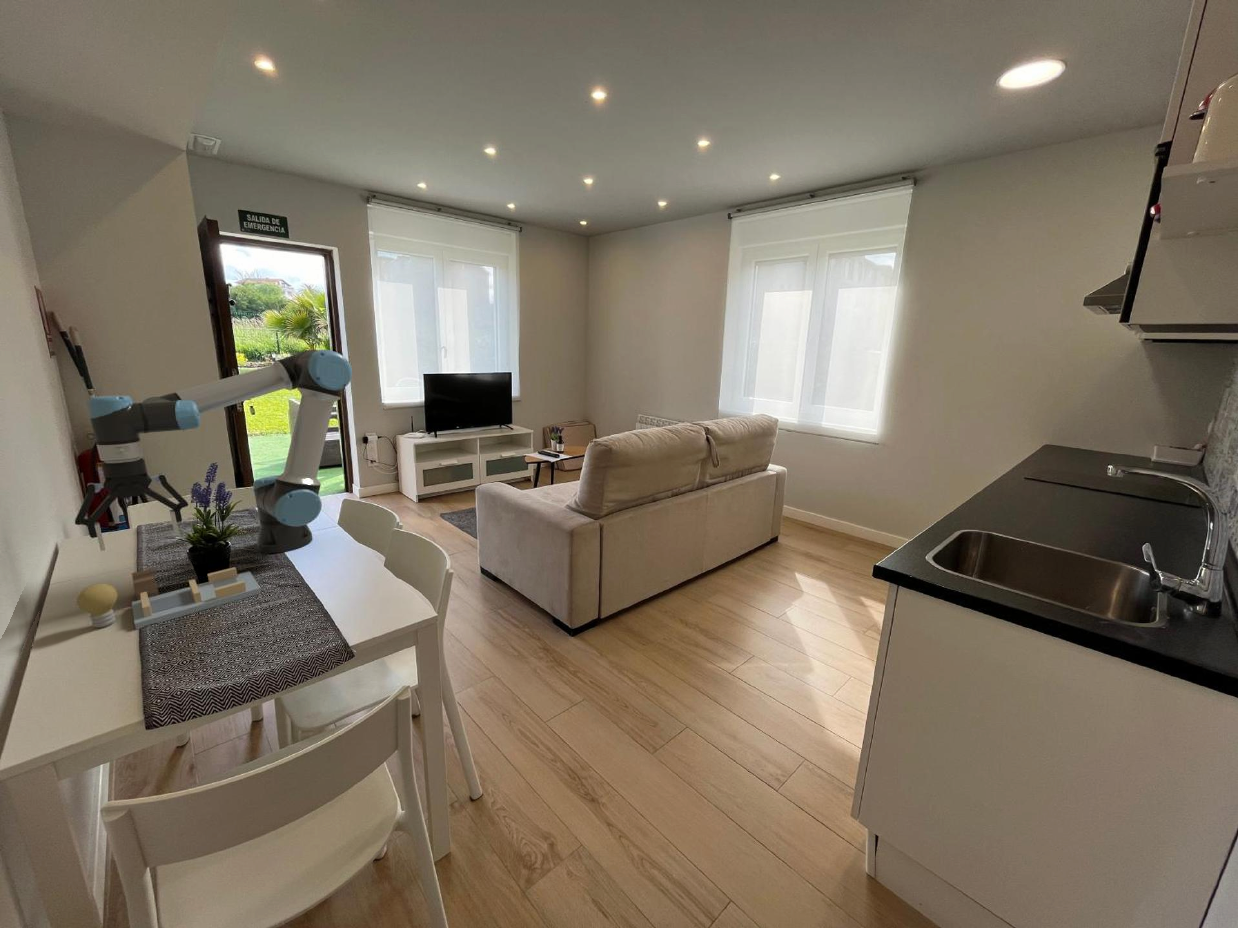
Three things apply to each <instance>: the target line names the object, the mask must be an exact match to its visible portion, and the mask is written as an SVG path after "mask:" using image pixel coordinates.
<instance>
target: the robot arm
mask: <svg viewBox="0 0 1238 928" xmlns="http://www.w3.org/2000/svg"><path fill="white" fill-rule="evenodd" d="M352 377H353V369H352V366H351V364H350V362H349V361H348V359H347V358H345V356H344V355H342V354H341V353H339V352H336V351H333V350H330V349H307V350H303V351H300V352H297V353H295V354H292V355H289V356H287V357H284V358H283V357H282V358H281V359H277V360H274V361H273V363H272V365H268V366H265V367H261V368H257V369H254V370H251V371H248V372H242V373H239V374H236V375H233V376H229V377H225V378H222V379H219V380H214V381H211V382H206V383H204V384H200V385H196V386H193V387H190V388H185V389H181V390H178V391H175V392H172V393H167V394H164V395H160V396H152V397H148V398H145V399H144V400H142V401H141V402H134V401H133V400H132V398H131V396H129V395H122V394H121V395H119V394H118V395H100V396H94V397H93V396H92V397H90V398H89V399H88V400H87V407H88V413H89V419H90V423H91V427H92V432H93V435H94V438H95V442H96V448H97V452H98V456H99V460H100V461H102V463H101V469H102V473H103V477H104V478H103V479H104V482H99V483H95V482H88V483H87V485H86V487H87V492H86V495H85V497H84V500H83V502H82V503H81V504H82V505H81V506H80V509H79V510H78V513H77V515H76V517H75V520H74V524H75V525H77V526H86V527H87V529H88V534H89V537H90V539H95V538H97V542H98V545H99V549H100V551H101V552H103V551H105V550H106V547H105V542H104V538H103V533H102V529H101V525H100V523H99V521H98V520H99V519H100V517H102V515H104V513H105V512H106V511H107V509H108V508H109V507H110V506H111V505H112V503H114V501H116V499H117V498H121V499H127V498H130V497H140V496H142V495H143V494H144V495H147V496H148V497H150V498H152V499H154V500H156V501H157V502H159V503H161V504H163V505H165V506H166V507H168V508H169V515H170V519H171V524H172V529H173V534H174V536H175V537H178V536H180V532H179V527H178V523H180V522H182V520H183V518H182V513H181V510H182V509H183V508H186V507H188V506H189V503H188V502H187V500H186V499H185V498H184V497H183V495H181V494H180V493H179V492H178V491H177V490H176V489H175V488H174V487H173V486H172V485H171V484H170V483H169V482H168V480H167V477H166V475H165V474H164V473H158V474H157V475H154V476H153V475H151V476H149V474H148V470H147V465H146V462H145V459H144V458H143V456H144V453H143V452H144V451H143V447H142V442H141V438H140V435H141V434H148V433H159V432H161V433H162V432H173V431H175V432H176V431H186V430H192V429H193V430H194V429H197V428H199V427H200V425H201V415H202V414H206V413H210V412H212V411H216V410H219V409H222V408H226V407H228V406H232V405H236V404H239V403H242V402H245V401H249V400H253V399H255V398H258V397H262V396H265V395H269V394H272V393H275V392H277V391H281V390H284V389H285V390H287V391H292V390H295V389H297V390H298V392H299V394H300V395H301V398H300V401H299V402H300V403H299V405H298V406H299V407H298V409H297V410H298V411H297V415H296V418H295V423H294V427H293V431H292V436H291V441H290V444H289V449H288V454H287V458H286V462H285V466H284V469H283V472H282V473H281V474H278V475H277V474H276V475H272V476H266V477H261V478H258V479H255V480H254V481H253V482H252V483H253V484H252V485H253V490H252V491H253V492H254V498H255V504H256V509H257V514H258V521H259V531H258V534H257V539H256V540H257V541H256V548H257V550H258V551H259V552H260V553H267V554H272V553H273V554H274V553H282V552H283V553H284V552H289V551H292V550H297V549H300V548H302V547H305V546H306V545H309V544H310V543H311V542H312V541H313V533H312V531H311V529H310V527H309V526H308V524H310V523H311V522H313V521H314V520H315V519H317V517H319V515H320V514H321V512H322V511H321V510H322V504H323V503H322V499H321V498H320V496H319V493H320V489H321V484H322V482H320V481H319V479H318V478H317V477H318V472H319V469H320V464H321V460H322V455H323V451H324V448H325V442H326V438H327V435H328V429H329V425H330V420H331V416H332V411H333V409H334V404H335V403H336V402H337V401H339V400H341V398H342V394H343V390H344V389H345V388H346V387H347V386H348V385H349V384H350V383H351V380H352ZM152 482H155V483H156V484H158V485H160V484H161V486H162V487H163V488H164V489H165V490H166V491H167V492H168V493H169V494H170V495H171V496H172V497H173V498H174V499H175V500H176V501H177V502H178V503H176V502H173V501H172V500H170V498H169V499H168V498H167V497H165V496H163V495H162V494H160V493H158V492H157V491H155V490H153V489H151V488H150V487H149V486H150V485H151V483H152ZM102 489H105V490H106V491H108V492H109V493H108V495H106V497H105V499H103V500H102V502H101V503H100V504H99V506H97V508H96V509H95V510H94V511H93V513H91V515H90V516H88V518H85V517H86V516H87V514H88V513H89V512H88V511H89V509H90V507H91V505H92V503H93V501H94V499H95V496H96V494H97V493H100V492H101V490H102Z"/></svg>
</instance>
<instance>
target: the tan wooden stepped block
mask: <svg viewBox="0 0 1238 928" xmlns="http://www.w3.org/2000/svg"><path fill="white" fill-rule="evenodd" d="M131 577H132V583H133V587H134V592H135V596H136V601H138V600H141V596H140V593H143V592H147V595H148V598H149V597H153V596H157V595H160V594H159V588H158V585H157V580H156V577H155V573H154V570H153V568H148V569H144V570H141V571H135V572H132V573H131Z"/></svg>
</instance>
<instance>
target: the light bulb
mask: <svg viewBox="0 0 1238 928" xmlns="http://www.w3.org/2000/svg"><path fill="white" fill-rule="evenodd" d="M117 599H118V592H117V590H116V588H115V587H114V586H112V585H110V584H107V583H97V584H94V585H93V584H92V585H90V586H88V587H85V588H84V589H83V590H82V591H80V592H79V594H78V596H77V598H76V604H77V606H78V608H80V610H82V612H83V611H84V612H85V613H87V614H90V616H89V617H90V618H89V619H90V621H91V623H92V627H93V628H97V629H99V628H100V629H101V628H105V627H108V626H111V625H113V624H114V622H116V616H115V613H114V610H113V606H114V605H115V604H116V601H117Z"/></svg>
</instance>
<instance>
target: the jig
mask: <svg viewBox="0 0 1238 928" xmlns="http://www.w3.org/2000/svg"><path fill="white" fill-rule="evenodd" d="M207 578H208V581H207V582H204V583H199V584H197V582H196V580H195V579H190V580H188V583H189V587H184V588H181V589H177V590H173V591H169V592H165V593H161V594H159V595H157V596H153V597H149V598H148V595H147V592H143V593H140V596H141V600H135V601H132V602H131V605H132V613H133V622H134V626H135V630H139V629H143V628H145V627H144V626H146V625H149V624H153V623H157V624H160V623H163V622H166V621H170V620H174V619H176V618H180V617H184V616H188V615H191V614H194V613H197V612H200V611H205V610H208V609H211V608H215V607H219V606H222V605H226V604H228V603H233V602H236V601H239V600H242V599H246V598H249V597H253V596H257V595H261V594H262V588H261V586H260V585H259V583H258V581H257V580H256V579H255V577H254V576H253V574H252V572H251V571H250V570H249V571H246V572H242V573H238V571H237V567H235V566H234V567H229V568H225V569H222V570H217V571H214V572H210V573H207ZM153 625H154V624H153ZM142 627H143V628H142Z"/></svg>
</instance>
